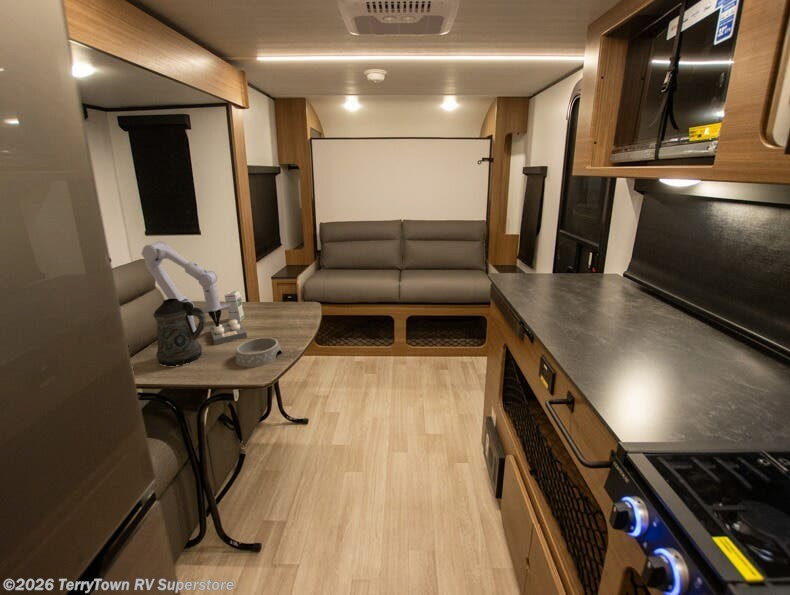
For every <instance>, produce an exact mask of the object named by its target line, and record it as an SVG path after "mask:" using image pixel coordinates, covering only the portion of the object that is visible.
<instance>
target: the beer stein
mask: <svg viewBox="0 0 790 595" xmlns="http://www.w3.org/2000/svg"><path fill="white" fill-rule="evenodd" d="M192 303H193V302H192ZM192 303H190V302H181V301H179V300H178V299H174V298H173V299H168V298H167V299H166V298H165V299H164V300H163V302H162V303H161V305H160V306H158V308H156V309H155V311H154V313H153V317H154V320H156V329H157V351H156V355H155V356H156V359H157V361H158V364H159V363H160V364H162V365H166V366H176V365H183V364H186V363H189V364H191V363H190V362H192V361H194V360H196V361H198V360H199V357H200V356H201V357H202V353H203V352H202V351H203V350H202V345H201V344H200V342H199V340H198V339H197V338H198V337H199V336H200V335H201V334H202V332H203V331H204V329H205V326H206V323H207V320H206V318H207V317H206V313H203V311H202V310H200V308H199V307H195V306H194V307H193V304H194V303H193V304H192ZM192 315H193V317H197V318H198V326H197V327H196V331H195V332H193V329H192V326H191V324H190V321H189V318H188V316H192ZM201 357H200V358H201ZM194 362H195V361H194ZM192 363H193V362H192ZM186 365H187V364H186ZM183 366H184V365H183Z"/></svg>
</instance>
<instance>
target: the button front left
mask: <svg viewBox="0 0 790 595" xmlns="http://www.w3.org/2000/svg"><path fill="white" fill-rule="evenodd" d="M214 331H215V335H219V334H223V333H225V332H224V328H223V327H219V328H216V329H214Z"/></svg>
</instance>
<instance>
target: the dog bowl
mask: <svg viewBox="0 0 790 595" xmlns="http://www.w3.org/2000/svg"><path fill="white" fill-rule="evenodd" d="M279 351H280V352H281V353H282V354H283V350H282V349H281V346H280V343H279V341H278V340H277V339H276V338H273V337H267V336H266V337H264V336H263V337H258V338H253V339H249V340H247V341H244V342H242V343H241V344H239V345H238V346H237V347H236V349H235V364H236V363H237V364H236V365H238V364H239V365H241V366H240V367H242V366H246V367H245V368H257V367H258V368H259V367H263V366H266V365H269V364H272V363H274V362H276V357H277V354H278V352H279ZM239 365H238V366H239Z"/></svg>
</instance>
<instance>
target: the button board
mask: <svg viewBox="0 0 790 595" xmlns="http://www.w3.org/2000/svg"><path fill="white" fill-rule="evenodd" d="M237 322H238V324H240V328H241V330H237V331H231V327H229V323H228V322H223V323H221V325H222V327H223V328H224V332H225V333H223V334H219V335H215V331H214V330H213V326H214V325H209V331H210V335H211V337H212V340H214V341H213V343H214V345H215V344H217V345H220V343H221V344H226V343H229V342H234V341H238V340H237V339H239V340H243V339H246V338H248V334H247V331H246V329H245V328H244V326H243V324H242V323H241V321H239V320H238V321H237ZM242 338H243V339H242ZM233 340H234V341H233ZM225 342H226V343H225Z"/></svg>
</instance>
